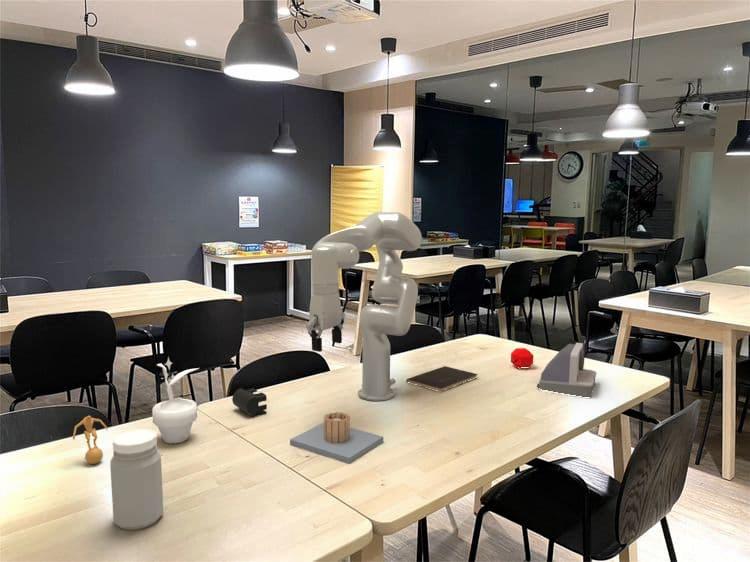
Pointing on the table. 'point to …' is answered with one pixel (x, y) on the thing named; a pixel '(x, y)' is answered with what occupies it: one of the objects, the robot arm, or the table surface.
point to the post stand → (339, 451)
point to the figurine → (94, 453)
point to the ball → (522, 357)
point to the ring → (336, 427)
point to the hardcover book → (442, 378)
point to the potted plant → (174, 412)
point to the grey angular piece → (568, 373)
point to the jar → (136, 479)
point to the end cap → (250, 401)
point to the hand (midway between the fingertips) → (327, 346)
